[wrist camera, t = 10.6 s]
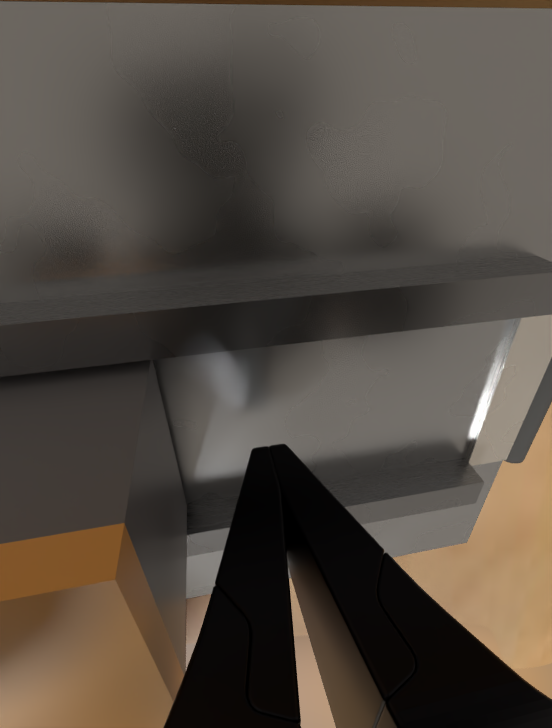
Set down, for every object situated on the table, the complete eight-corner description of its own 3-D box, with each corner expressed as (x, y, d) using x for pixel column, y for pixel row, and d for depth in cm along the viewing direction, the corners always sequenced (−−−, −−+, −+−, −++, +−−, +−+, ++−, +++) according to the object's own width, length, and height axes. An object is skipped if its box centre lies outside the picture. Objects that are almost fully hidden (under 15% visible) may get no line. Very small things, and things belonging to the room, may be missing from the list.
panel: (429, 483, 18) (482, 566, 15) (-42, 565, 15) (-106, 690, 12) (561, 38, 9) (769, -4, 6) (-503, 36, 6) (-1245, -45, 3)
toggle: (187, 505, 11) (184, 726, 7) (34, 531, 10) (-62, 786, 6) (151, 354, 8) (114, 580, 4) (-61, 378, 7) (-329, 664, 4)
